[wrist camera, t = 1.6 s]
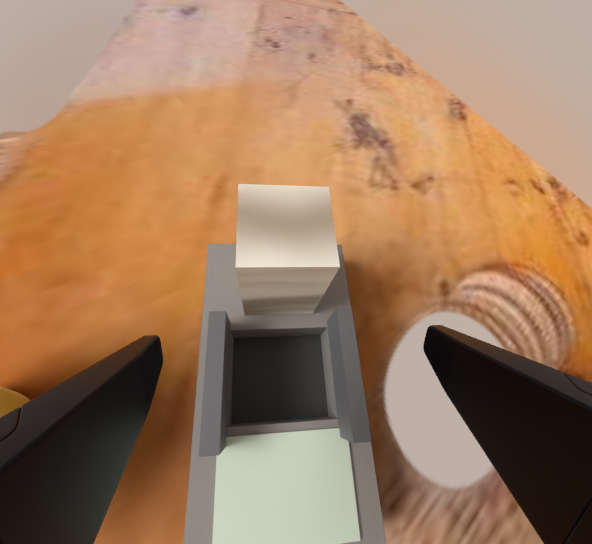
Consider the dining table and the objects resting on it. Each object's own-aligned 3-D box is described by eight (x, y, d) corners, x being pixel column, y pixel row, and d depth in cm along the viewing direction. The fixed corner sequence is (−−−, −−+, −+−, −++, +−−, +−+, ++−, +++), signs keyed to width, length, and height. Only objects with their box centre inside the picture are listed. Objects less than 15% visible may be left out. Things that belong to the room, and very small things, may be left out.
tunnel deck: (367, 525, 18) (413, 578, 13) (193, 548, 17) (161, 618, 11) (333, 261, 26) (352, 224, 21) (214, 261, 25) (200, 222, 19)
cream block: (312, 313, 21) (339, 266, 14) (244, 315, 20) (235, 267, 13) (307, 254, 23) (328, 186, 16) (245, 254, 22) (238, 184, 15)
